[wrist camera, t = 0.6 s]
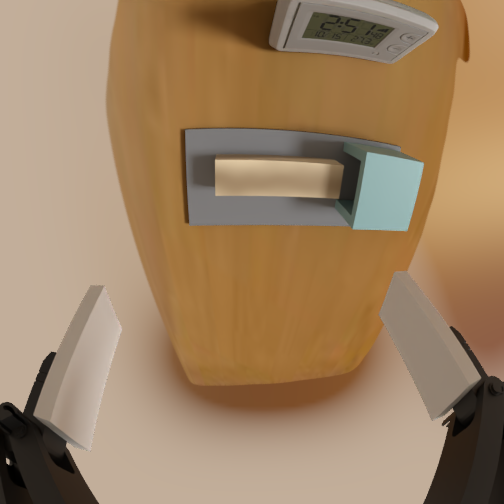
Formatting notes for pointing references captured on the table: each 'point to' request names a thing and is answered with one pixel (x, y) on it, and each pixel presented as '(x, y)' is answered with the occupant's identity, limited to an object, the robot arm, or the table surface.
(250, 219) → the mat
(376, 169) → the end cap
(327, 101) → the table surface
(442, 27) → the table surface
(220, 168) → the slat
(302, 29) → the digital clock
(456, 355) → the robot arm
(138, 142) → the table surface
